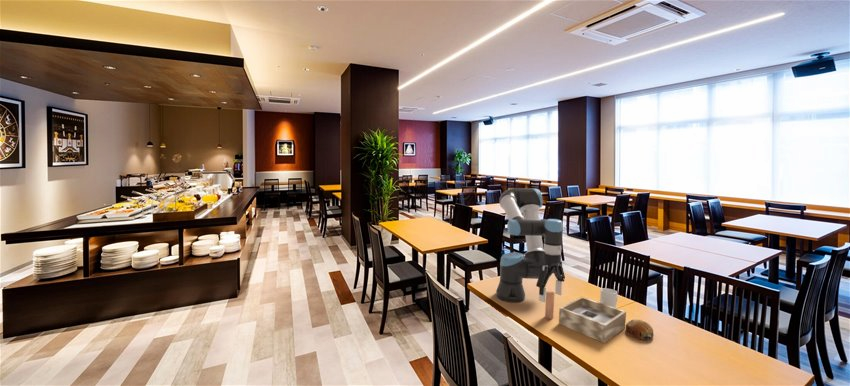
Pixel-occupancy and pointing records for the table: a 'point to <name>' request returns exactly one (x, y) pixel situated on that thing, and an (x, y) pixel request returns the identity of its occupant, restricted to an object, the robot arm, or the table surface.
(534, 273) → the robot arm
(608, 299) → the mug
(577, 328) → the socket box
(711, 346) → the table surface
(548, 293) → the peg
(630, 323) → the bread roll
